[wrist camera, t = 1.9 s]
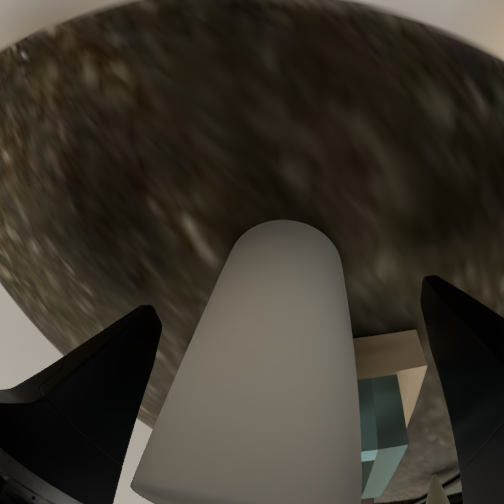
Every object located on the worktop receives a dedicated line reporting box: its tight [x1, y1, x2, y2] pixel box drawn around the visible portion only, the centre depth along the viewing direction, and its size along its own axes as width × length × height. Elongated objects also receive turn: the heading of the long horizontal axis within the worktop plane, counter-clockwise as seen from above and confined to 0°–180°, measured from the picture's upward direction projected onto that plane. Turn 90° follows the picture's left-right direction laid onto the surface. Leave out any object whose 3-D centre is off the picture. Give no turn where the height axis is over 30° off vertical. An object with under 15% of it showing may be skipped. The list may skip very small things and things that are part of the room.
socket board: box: [353, 329, 427, 504], centre depth 12 cm, size 10×16×10 cm, turn 13°
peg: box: [131, 220, 362, 504], centre depth 7 cm, size 4×4×8 cm
